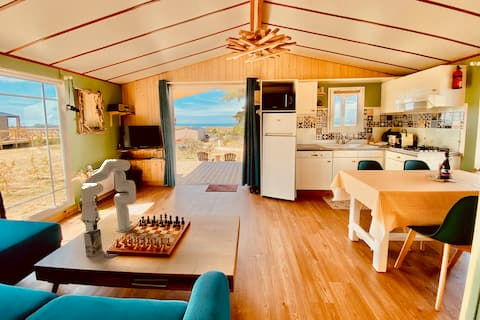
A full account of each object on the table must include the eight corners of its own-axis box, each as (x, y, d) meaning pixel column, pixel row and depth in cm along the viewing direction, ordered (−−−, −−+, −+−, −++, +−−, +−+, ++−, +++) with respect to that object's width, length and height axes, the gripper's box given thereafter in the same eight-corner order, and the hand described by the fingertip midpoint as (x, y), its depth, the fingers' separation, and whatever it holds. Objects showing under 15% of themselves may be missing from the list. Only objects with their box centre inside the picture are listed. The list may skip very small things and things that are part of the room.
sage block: (91, 228, 193) (90, 220, 192) (97, 228, 192) (96, 220, 191) (86, 231, 188) (85, 222, 187) (92, 231, 187) (91, 222, 186)
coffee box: (94, 256, 188) (91, 234, 185) (85, 256, 189) (83, 233, 187) (103, 250, 196) (100, 229, 194) (95, 249, 198) (92, 228, 195)
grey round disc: (109, 251, 194) (109, 251, 194) (121, 252, 192) (120, 251, 192) (101, 258, 185) (101, 257, 185) (113, 258, 184) (113, 257, 183)
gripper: (103, 202, 190) (106, 227, 193) (81, 202, 193) (84, 227, 195) (96, 205, 183) (99, 231, 185) (73, 205, 185) (76, 231, 188)
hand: (91, 229), depth 190 cm, fingers closed on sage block, 5 cm apart
